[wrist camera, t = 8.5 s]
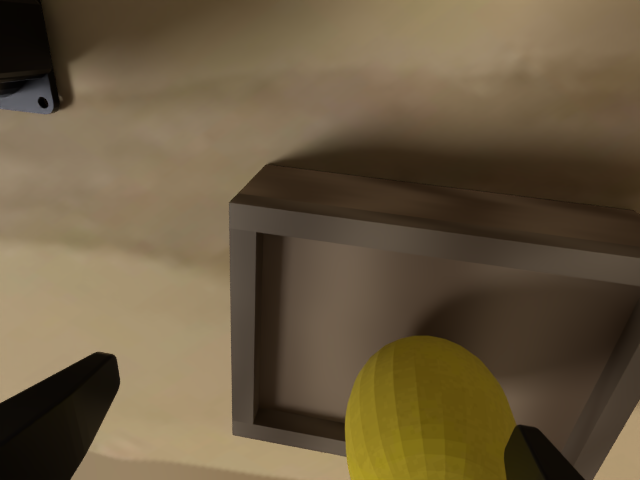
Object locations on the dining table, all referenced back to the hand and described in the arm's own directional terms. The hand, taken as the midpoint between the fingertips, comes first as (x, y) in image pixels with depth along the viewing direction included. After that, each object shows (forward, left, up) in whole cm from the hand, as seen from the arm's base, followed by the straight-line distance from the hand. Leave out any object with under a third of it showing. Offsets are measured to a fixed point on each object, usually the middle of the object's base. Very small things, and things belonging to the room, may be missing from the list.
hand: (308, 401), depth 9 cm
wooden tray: (+4, -4, -12) cm, 13 cm away
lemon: (+4, -4, -8) cm, 10 cm away
